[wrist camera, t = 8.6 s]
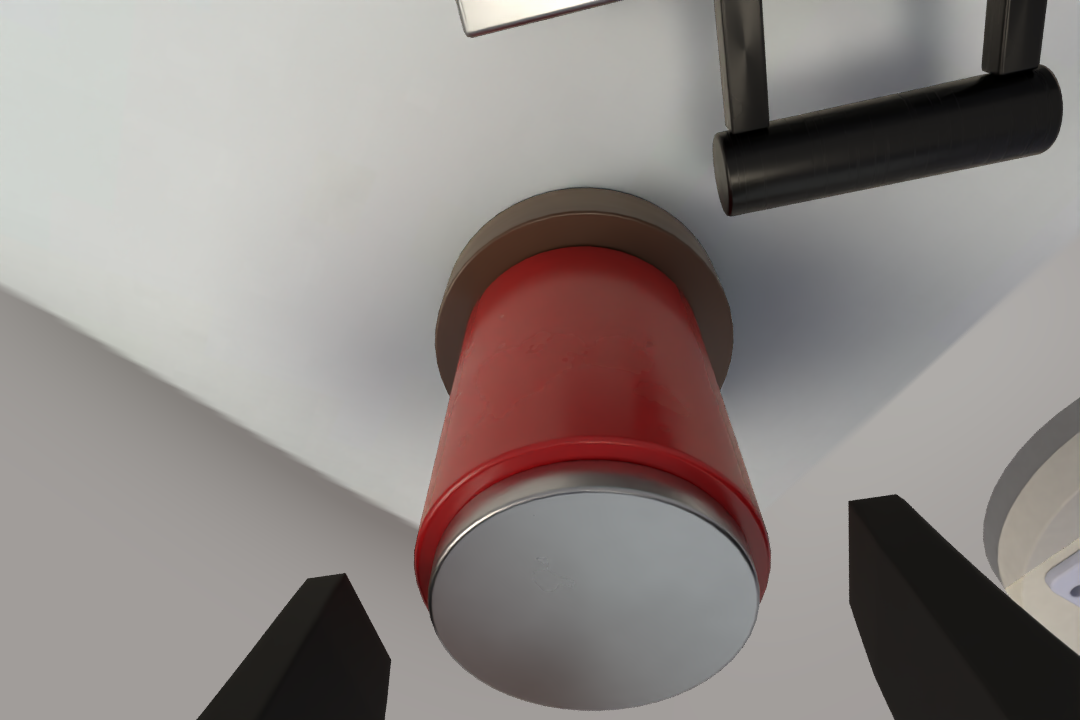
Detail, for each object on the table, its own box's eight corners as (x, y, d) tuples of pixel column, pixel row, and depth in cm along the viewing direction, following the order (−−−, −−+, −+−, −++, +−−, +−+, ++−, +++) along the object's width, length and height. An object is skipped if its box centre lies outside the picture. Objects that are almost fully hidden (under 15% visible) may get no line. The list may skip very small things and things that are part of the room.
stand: (780, 284, 17) (798, 314, 15) (614, 468, 20) (618, 507, 18) (538, 127, 15) (535, 146, 14) (397, 355, 18) (384, 389, 17)
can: (748, 323, 15) (867, 579, 9) (609, 478, 18) (634, 760, 12) (544, 196, 14) (532, 400, 8) (423, 382, 16) (344, 646, 10)
